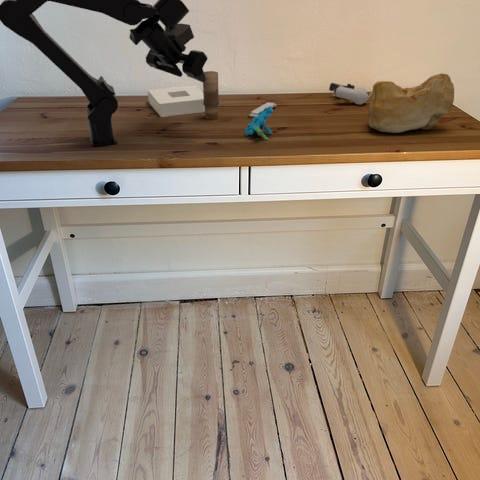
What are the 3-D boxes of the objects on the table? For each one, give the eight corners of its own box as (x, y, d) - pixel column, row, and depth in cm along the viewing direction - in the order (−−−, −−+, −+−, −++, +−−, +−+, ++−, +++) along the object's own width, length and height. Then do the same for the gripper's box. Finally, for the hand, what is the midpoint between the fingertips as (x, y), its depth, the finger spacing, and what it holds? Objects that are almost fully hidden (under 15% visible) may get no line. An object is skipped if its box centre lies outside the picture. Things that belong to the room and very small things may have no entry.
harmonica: (269, 106, 151) (269, 100, 150) (277, 108, 150) (278, 102, 149) (247, 119, 140) (247, 112, 139) (256, 121, 139) (256, 114, 138)
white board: (211, 111, 145) (210, 98, 143) (160, 117, 140) (159, 103, 138) (195, 97, 158) (195, 85, 155) (148, 102, 152) (147, 90, 150)
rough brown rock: (426, 117, 144) (434, 66, 137) (454, 132, 129) (464, 75, 122) (353, 123, 142) (357, 71, 135) (373, 137, 127) (378, 80, 120)
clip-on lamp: (375, 105, 162) (326, 93, 159) (382, 86, 159) (332, 74, 156) (387, 112, 152) (334, 100, 149) (394, 92, 149) (341, 79, 146)
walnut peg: (221, 119, 139) (220, 74, 132) (206, 121, 137) (205, 75, 130) (216, 114, 142) (215, 70, 135) (201, 116, 141) (200, 71, 134)
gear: (245, 121, 133) (271, 98, 127) (260, 135, 135) (285, 113, 129) (239, 139, 124) (266, 116, 119) (255, 154, 127) (282, 132, 121)
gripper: (200, 16, 111) (231, 58, 124) (149, 9, 121) (183, 48, 134) (178, 57, 110) (212, 94, 123) (129, 46, 120) (165, 82, 133)
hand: (192, 78), depth 128 cm, fingers open, 9 cm apart
